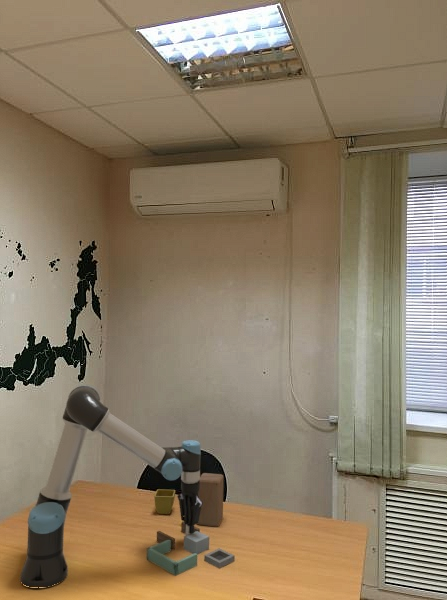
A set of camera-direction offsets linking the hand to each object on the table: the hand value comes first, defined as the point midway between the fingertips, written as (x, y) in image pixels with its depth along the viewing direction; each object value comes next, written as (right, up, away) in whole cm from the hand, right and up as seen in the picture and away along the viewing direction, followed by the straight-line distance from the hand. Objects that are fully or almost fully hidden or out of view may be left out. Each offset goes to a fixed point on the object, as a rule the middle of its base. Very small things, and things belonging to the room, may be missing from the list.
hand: (189, 540), depth 193 cm
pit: (+12, -2, -12) cm, 17 cm away
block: (+3, -2, -3) cm, 5 cm away
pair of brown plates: (-5, -2, +4) cm, 7 cm away
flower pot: (-14, -3, +33) cm, 35 cm away
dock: (-5, -1, -14) cm, 15 cm away
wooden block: (+8, -3, +23) cm, 24 cm away
